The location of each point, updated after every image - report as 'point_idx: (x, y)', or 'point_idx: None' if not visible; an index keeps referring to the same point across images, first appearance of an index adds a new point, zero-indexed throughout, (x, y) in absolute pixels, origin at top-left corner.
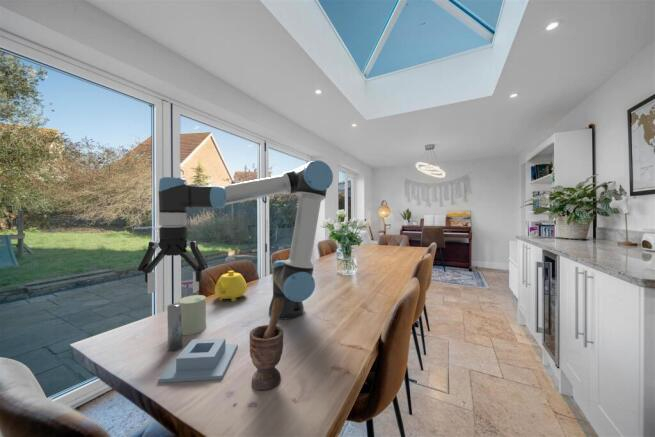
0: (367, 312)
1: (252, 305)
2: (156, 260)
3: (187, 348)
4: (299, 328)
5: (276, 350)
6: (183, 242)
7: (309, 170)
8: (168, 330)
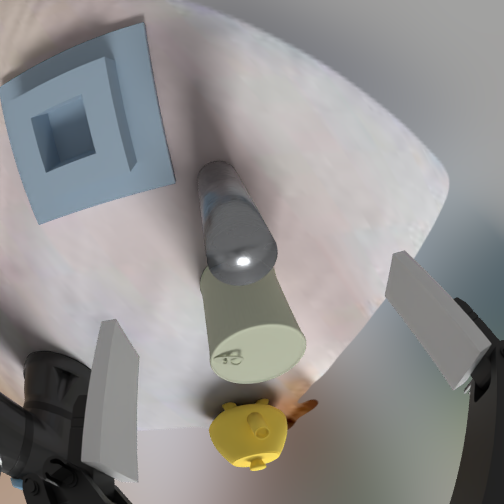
0: None
1: (164, 396)
2: (497, 467)
3: (105, 116)
4: None
5: None
6: None
7: None
8: (237, 183)
